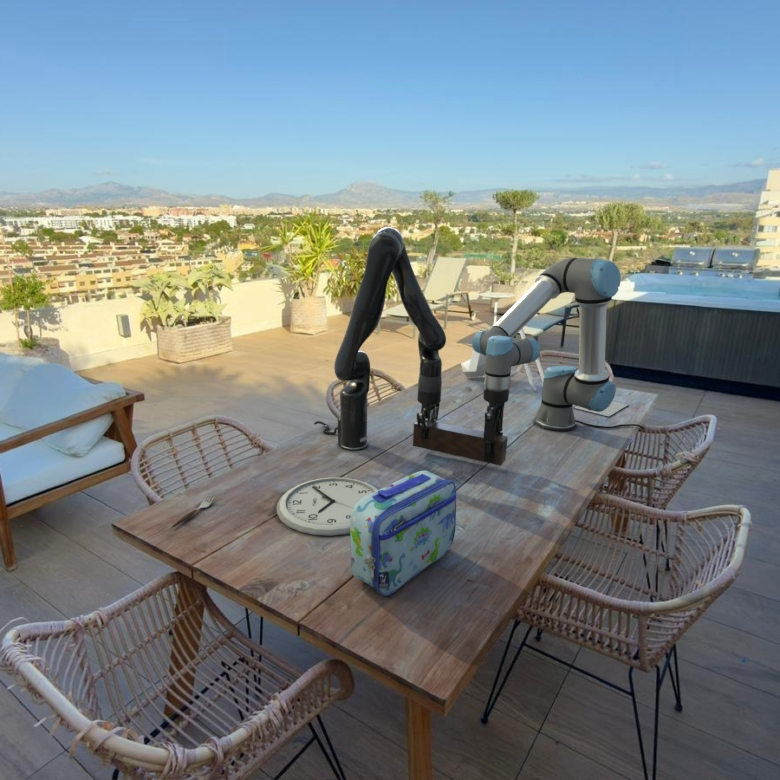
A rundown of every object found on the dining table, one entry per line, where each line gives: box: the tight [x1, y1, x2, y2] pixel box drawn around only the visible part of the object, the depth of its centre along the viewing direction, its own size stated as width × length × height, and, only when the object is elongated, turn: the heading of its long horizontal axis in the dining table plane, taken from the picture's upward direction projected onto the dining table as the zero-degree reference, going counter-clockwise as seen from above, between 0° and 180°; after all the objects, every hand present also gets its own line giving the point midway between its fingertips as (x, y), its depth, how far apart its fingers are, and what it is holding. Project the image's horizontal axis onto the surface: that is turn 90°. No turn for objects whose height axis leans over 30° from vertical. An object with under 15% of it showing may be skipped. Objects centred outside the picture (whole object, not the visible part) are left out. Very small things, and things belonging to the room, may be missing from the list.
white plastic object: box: [460, 327, 545, 391], centre depth 258 cm, size 37×45×31 cm
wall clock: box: [276, 476, 380, 537], centre depth 142 cm, size 30×2×30 cm
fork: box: [171, 493, 217, 529], centre depth 137 cm, size 3×16×2 cm, turn 160°
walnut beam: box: [412, 421, 508, 467], centre depth 169 cm, size 30×5×8 cm, turn 63°
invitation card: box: [573, 400, 629, 418], centre depth 226 cm, size 21×1×15 cm
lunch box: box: [349, 470, 457, 597], centre depth 114 cm, size 26×11×21 cm, turn 134°
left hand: (427, 436), depth 174 cm, fingers closed on walnut beam, 5 cm apart
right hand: (491, 457), depth 165 cm, fingers closed on walnut beam, 5 cm apart
